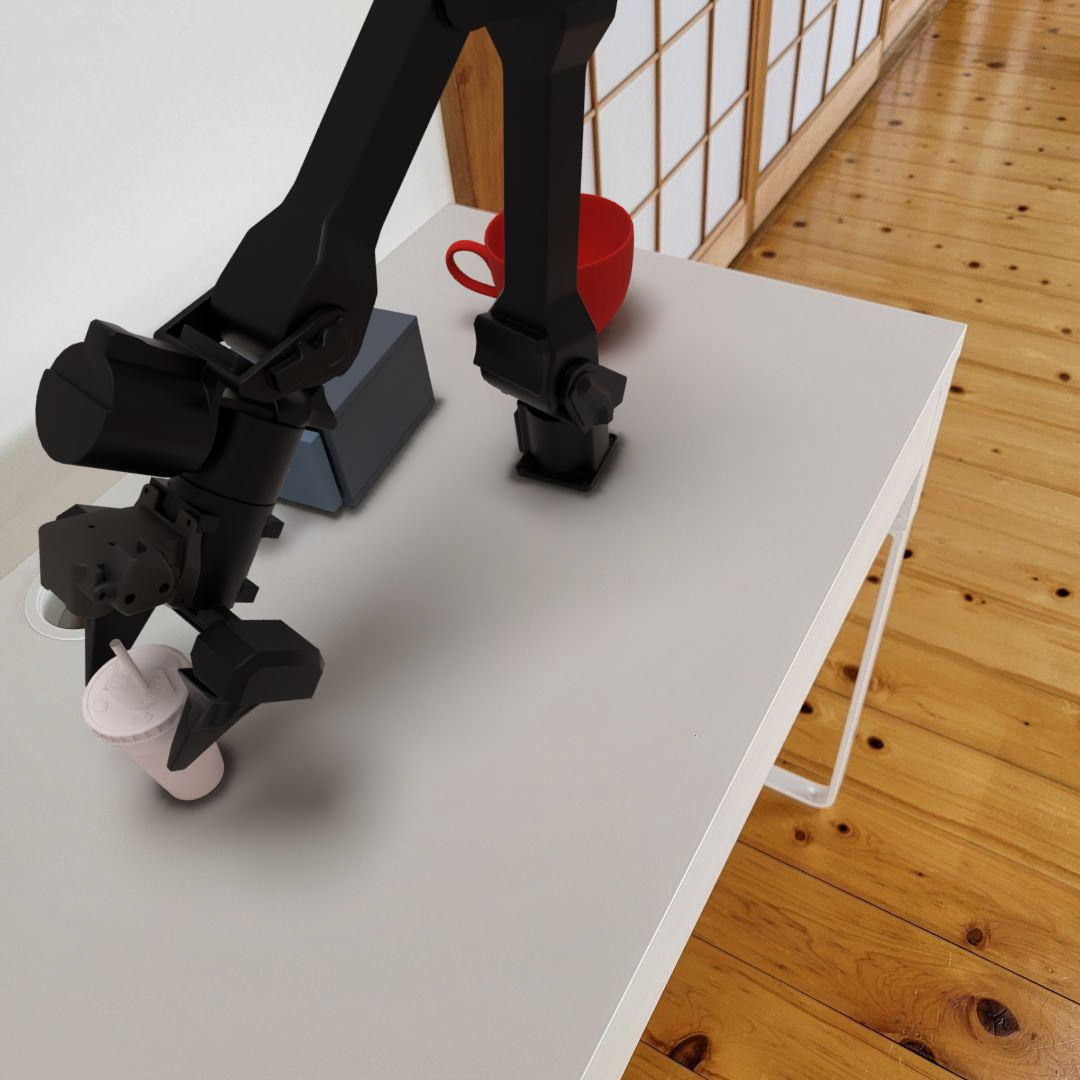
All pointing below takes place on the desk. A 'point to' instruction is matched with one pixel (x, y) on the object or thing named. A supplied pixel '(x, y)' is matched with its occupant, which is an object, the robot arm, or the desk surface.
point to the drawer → (312, 474)
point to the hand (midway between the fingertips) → (133, 727)
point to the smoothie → (148, 715)
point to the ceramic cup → (598, 257)
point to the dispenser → (377, 402)
